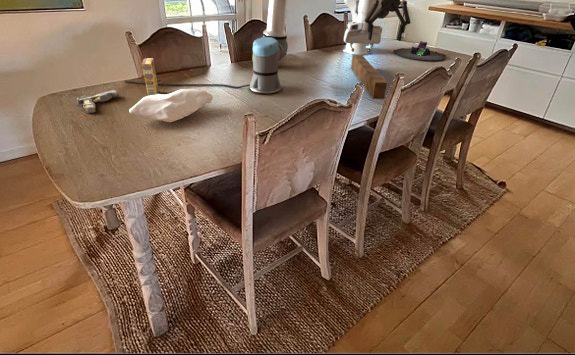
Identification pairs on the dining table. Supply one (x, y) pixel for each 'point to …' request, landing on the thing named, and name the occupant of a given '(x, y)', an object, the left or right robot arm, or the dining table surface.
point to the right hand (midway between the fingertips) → (360, 51)
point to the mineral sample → (419, 53)
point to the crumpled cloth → (171, 104)
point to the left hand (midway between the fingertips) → (384, 40)
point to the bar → (368, 76)
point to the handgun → (95, 100)
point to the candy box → (150, 76)
